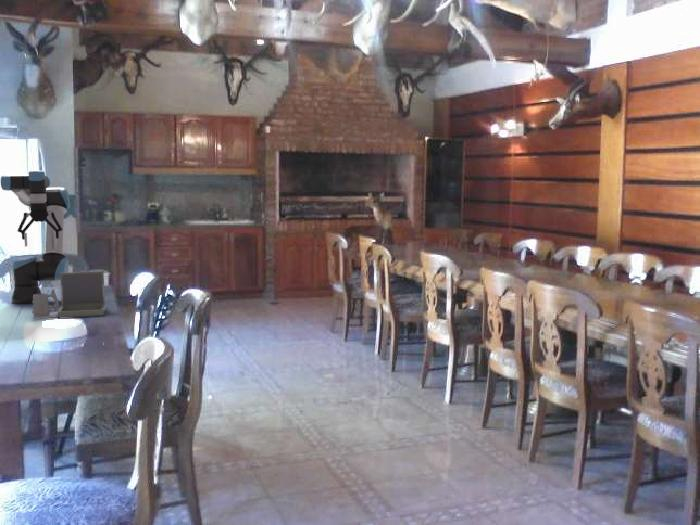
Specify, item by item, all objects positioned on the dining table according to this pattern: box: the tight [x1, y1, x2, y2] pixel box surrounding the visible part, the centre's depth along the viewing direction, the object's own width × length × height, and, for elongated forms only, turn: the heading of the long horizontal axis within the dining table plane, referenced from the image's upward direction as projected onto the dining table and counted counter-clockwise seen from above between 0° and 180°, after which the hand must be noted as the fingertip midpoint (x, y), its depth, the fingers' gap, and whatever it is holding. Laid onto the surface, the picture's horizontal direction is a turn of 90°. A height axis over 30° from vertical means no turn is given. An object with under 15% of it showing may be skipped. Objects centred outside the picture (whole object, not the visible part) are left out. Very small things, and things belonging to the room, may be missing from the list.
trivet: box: [33, 311, 58, 319], centre depth 352 cm, size 10×10×1 cm
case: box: [57, 270, 106, 318], centre depth 356 cm, size 19×20×19 cm
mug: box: [31, 288, 60, 317], centre depth 351 cm, size 8×12×12 cm, turn 119°
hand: (41, 245), depth 365 cm, fingers open, 13 cm apart
